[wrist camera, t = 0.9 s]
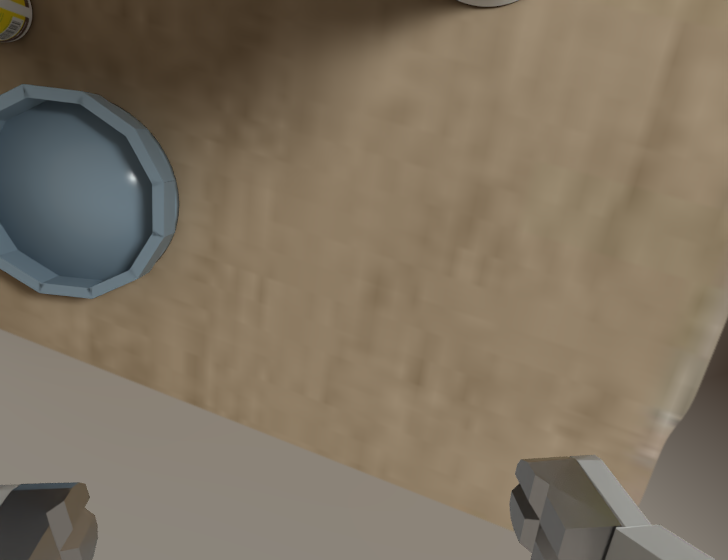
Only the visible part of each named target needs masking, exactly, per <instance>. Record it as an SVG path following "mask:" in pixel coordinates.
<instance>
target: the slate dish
mask: <svg viewBox="0 0 728 560" xmlns="http://www.w3.org/2000/svg"><path fill="white" fill-rule="evenodd" d="M178 215H179V194H178V188H177V183H176V178H175V175H174V172H173V169H172V166H171V164H170V162H169V160H168V158H167V155H166V154H165V152H164V150H163V149H162V147H161V146H160V144H159V142H158V141H157V140H156V139H155V137H154V136H153V135H152V133H151V132H150V131H149V130H148V129H147V128H146V127H145V126H144V125H143V124H142V123H141V122H140V121H139V120H137V119H136V118H135V117H134V116H132V115H131V114H130V113H128V112H127V111H125V110H124V109H122V108H121V107H119V106H117V105H115V104H113V103H111V102H109V101H107V100H106V99H105V98H103V97H102V96H100V95H98V94H93V93H88V92H83V91H75V90H67V89H59V88H51V87H43V86H35V85H27V84H22V85H20V86H18V87H16V88H14V89H12V90H10V91H8V92H6V93H4V94H2V95H0V269H1V270H3V271H5V272H6V273H8V274H9V275H11V276H13V277H14V278H16V279H18V280H19V281H21V282H22V283H24V284H26V285H27V286H29V287H30V288H32V289H34V290H35V291H37V292H39V293H44V294H53V295H62V296H72V297H81V298H90V299H93V298H95V297H97V296H100V295H102V294H104V293H107V292H109V291H111V290H113V289H116V288H118V287H120V286H123V285H125V284H127V283H129V282H132V281H134V280H136V279H138V278H140V277H142V276H143V275H145V274H147V273H148V272H150V270H151V269H152V267H153V266H154V264H155V263H156V262H157V261H158V260H159V259H160V258H161V257H162V255H163V254H164V253H165V251H166V250H167V248H168V246H169V244H170V242H171V241H172V238H173V235H174V233H175V230H176V226H177V221H178Z"/></svg>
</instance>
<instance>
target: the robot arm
mask: <svg viewBox="0 0 728 560" xmlns="http://www.w3.org/2000/svg"><path fill="white" fill-rule="evenodd" d="M458 1H460V2H463V3H466V4H470V5H475V6H483V7H492V6H501V5H505V4H509V3H512V2H515V1H518V0H458ZM515 475H516V477H517V479H518V481H519V484H518V485H517V486H516V487H515V488H514V489H513V490H512V492H511V498H510V515H511V521H512V525H513V528H514V531H515V534H516V536H517V538H518V541H519V543H520V544H522V545H523V546H524V547H525V548H526V549H528V550H529V551H530V552H531V553H532V556H531V560H715V559H714V558H712V557H710V556H709V555H707V554H706V553H704V552H702V551H701V550H699V549H698V548H696V547H694V546H693V545H691V544H689V543H688V542H686V541H685V540H683V539H682V538H680V537H678V536H677V535H675V534H673V533H672V532H670V531H669V530H667V529H666V528H664V527H662V526H661V525H651V523H650V522H649V521H648V519H647V518H646V517H645V516H644V514H643V513H642V512H641V510H640V509H639V508H638V506H637V505H636V504H635V502H634V501H633V500H632V499H631V497H630V496H629V495H628V493H627V492H626V491H625V489H624V488H623V487H622V486H621V484H620V483H619V482H618V480H617V479H616V478H615V476H614V475H613V474H612V473H611V471H610V470H609V469H608V467H607V466H606V465H605V463H604V462H603V461H602V460H601V459H600V458H599V457H597V456H596V455H583V456H570V457H567V456H566V457H550V458H534V459H521V460H520V462H519V463H518V464H517V468H516V473H515ZM89 498H90V496H89V493H88V490H87V487H86V484H84V483H40V484H21V485H0V560H92V559H93V556H94V552H95V548H96V543H97V539H98V531H97V528H98V527H97V522H96V518H95V515H94V514H92V513H91V512H90V511H88V510H87V509H86V508H85V506H86V504H87V502H88V500H89Z"/></svg>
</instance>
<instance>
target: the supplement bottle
mask: <svg viewBox="0 0 728 560" xmlns="http://www.w3.org/2000/svg"><path fill="white" fill-rule="evenodd" d="M31 21H32V6H31V2H30V0H0V42H12V41H16V40H18V39H20V38H21V37H23V36H24V35H25V34H26V32H27V31H28V29H29V27H30V25H31Z"/></svg>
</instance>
